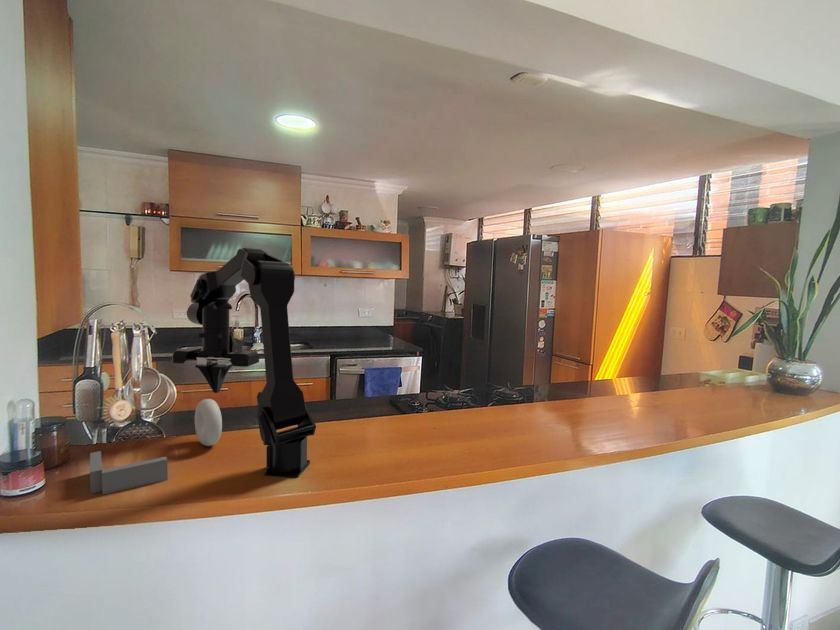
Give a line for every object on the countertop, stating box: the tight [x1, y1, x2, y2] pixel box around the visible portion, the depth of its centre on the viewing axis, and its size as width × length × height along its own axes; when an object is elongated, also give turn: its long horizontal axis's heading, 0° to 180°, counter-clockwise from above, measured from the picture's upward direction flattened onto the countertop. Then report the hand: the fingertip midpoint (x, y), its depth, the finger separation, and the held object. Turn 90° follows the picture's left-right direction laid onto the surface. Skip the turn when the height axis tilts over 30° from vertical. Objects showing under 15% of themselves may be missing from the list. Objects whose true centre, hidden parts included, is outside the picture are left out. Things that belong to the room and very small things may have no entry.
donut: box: [194, 398, 223, 447], centre depth 87 cm, size 10×4×10 cm, turn 44°
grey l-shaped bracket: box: [89, 450, 169, 495], centre depth 69 cm, size 15×7×4 cm, turn 84°
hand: (216, 392), depth 96 cm, fingers closed
